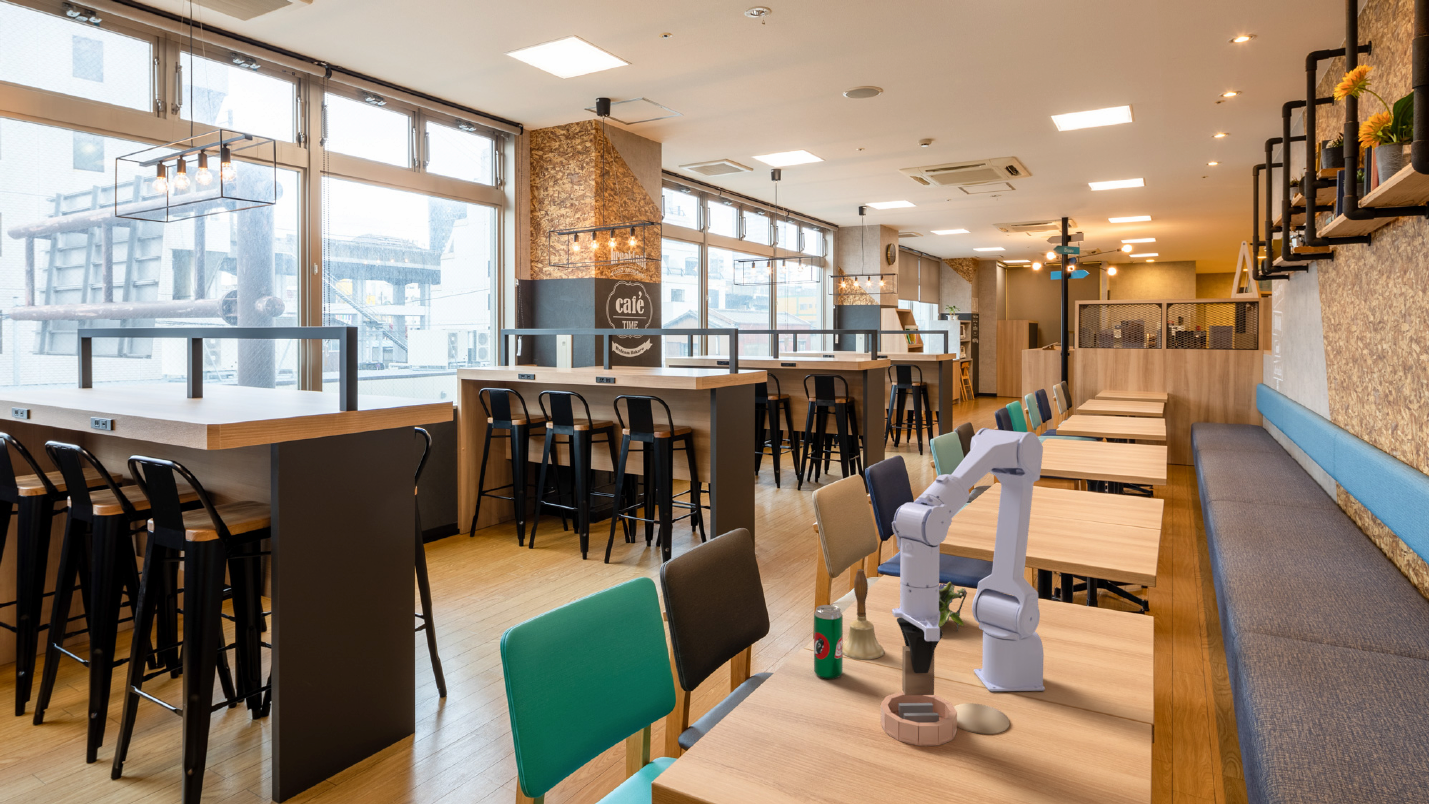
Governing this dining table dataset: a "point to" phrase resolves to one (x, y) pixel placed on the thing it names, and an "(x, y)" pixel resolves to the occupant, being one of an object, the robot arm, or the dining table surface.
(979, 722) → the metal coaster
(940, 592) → the green leafy plant
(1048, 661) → the dining table surface
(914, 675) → the brown rectangular block
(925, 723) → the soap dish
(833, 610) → the soda can
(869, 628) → the hand bell
